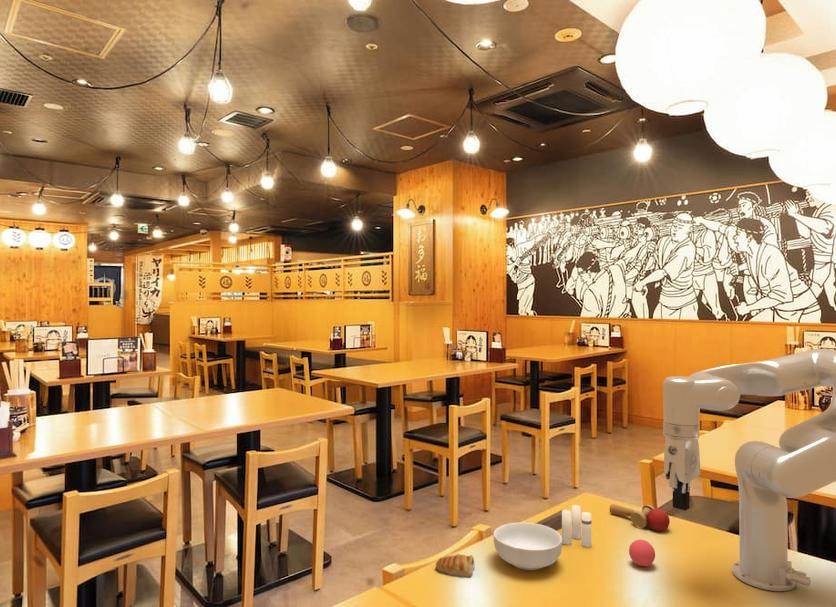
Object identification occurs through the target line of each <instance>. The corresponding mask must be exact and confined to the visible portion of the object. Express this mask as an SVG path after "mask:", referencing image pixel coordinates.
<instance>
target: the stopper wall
mask: <svg viewBox="0 0 836 607" xmlns="http://www.w3.org/2000/svg"><path fill="white" fill-rule="evenodd" d="M562 510H563V509H562ZM562 510H559V511H557V512H554V513H553V514H551V515H549V516H547V517H545V518H543V519H541V520H539V521H536V522H535V524H540V525H544V526H547V527H550V528H552V529H554V530H556V531H557V532H558V530H560V529H562Z"/></svg>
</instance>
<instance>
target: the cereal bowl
mask: <svg viewBox="0 0 836 607" xmlns="http://www.w3.org/2000/svg"><path fill="white" fill-rule="evenodd" d="M535 523H536V522H535ZM535 523H534V522H525V521H524V522H523V521H521V522H512V523H511V522H509V523H505V524H502V525H500V526H498V527H497V528H495V529H494V531H493V545H494V549H495V551H496V552H497V554H498V556H499V557H500V558H501V559H503V560H504V562H506V563H508V564H510V565H513V567H516V568H517V569H520V570H524V571H536V570H537V571H538V570H539V569H542V568H545V567H549V566H551V565H552V564H554V563H556V561H557V560H558V559H559V558H560V556H561V553H562V549H563V543H562V534H560V533H559V531H558V530H557V531H556V530H554V529H552V528H550V527H547V526H544V525H540V524H535Z"/></svg>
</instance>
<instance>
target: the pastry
mask: <svg viewBox="0 0 836 607" xmlns="http://www.w3.org/2000/svg"><path fill="white" fill-rule="evenodd" d="M435 567H436V569H437V570H438V571H439V572H440V573H444V574H448V575H450V576H454V577H455V576H456V577H461V578H463V577H464V578H469V577H471V578H472V576H473V575H474V569H475V567H476V563H475V559H474V556H473V555H472V554H470V555H466V554H461V553H458V554H455V555H450V556H449V555H448V556H443V557H440V558H439V559H438V560H437V561H436V562H435Z"/></svg>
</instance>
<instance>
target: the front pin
mask: <svg viewBox="0 0 836 607" xmlns="http://www.w3.org/2000/svg"><path fill="white" fill-rule="evenodd" d="M581 546H582V547H584V548H592V513H591V512H589V511H581Z"/></svg>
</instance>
